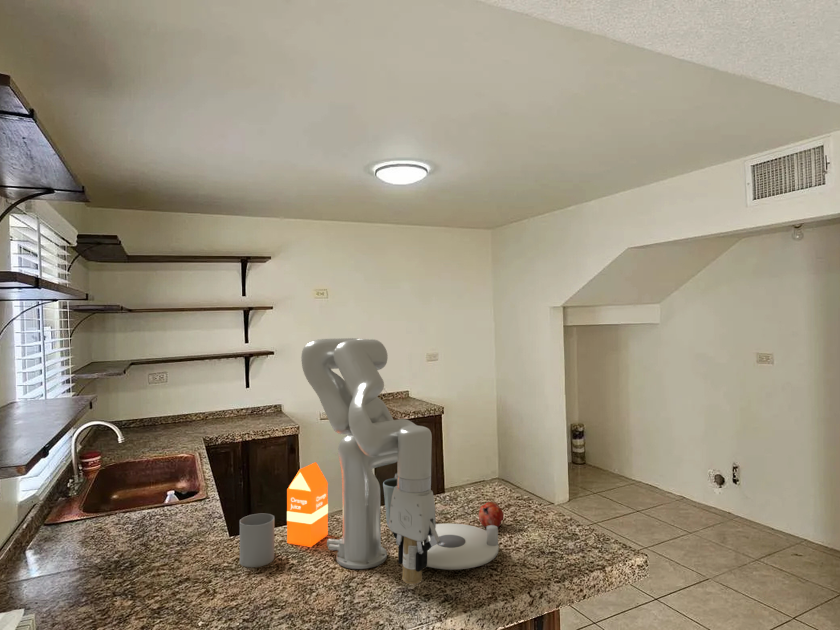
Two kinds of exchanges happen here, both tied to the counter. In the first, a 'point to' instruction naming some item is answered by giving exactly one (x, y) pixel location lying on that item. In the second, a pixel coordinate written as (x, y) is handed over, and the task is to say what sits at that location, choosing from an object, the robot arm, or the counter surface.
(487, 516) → the pomegranate
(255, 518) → the cup
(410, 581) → the sprinkles bottle
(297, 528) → the orange juice
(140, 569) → the counter surface
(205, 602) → the counter surface
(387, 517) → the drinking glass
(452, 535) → the turntable
